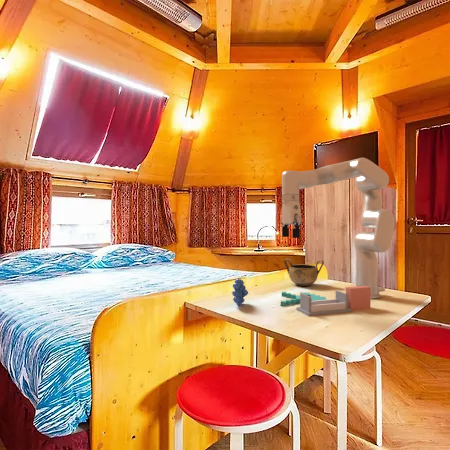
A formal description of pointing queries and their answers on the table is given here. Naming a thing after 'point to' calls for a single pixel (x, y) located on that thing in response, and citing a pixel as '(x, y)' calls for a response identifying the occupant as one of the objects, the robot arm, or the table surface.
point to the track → (324, 305)
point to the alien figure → (296, 298)
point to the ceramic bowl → (303, 273)
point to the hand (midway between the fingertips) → (290, 237)
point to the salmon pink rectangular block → (359, 297)
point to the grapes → (239, 292)
